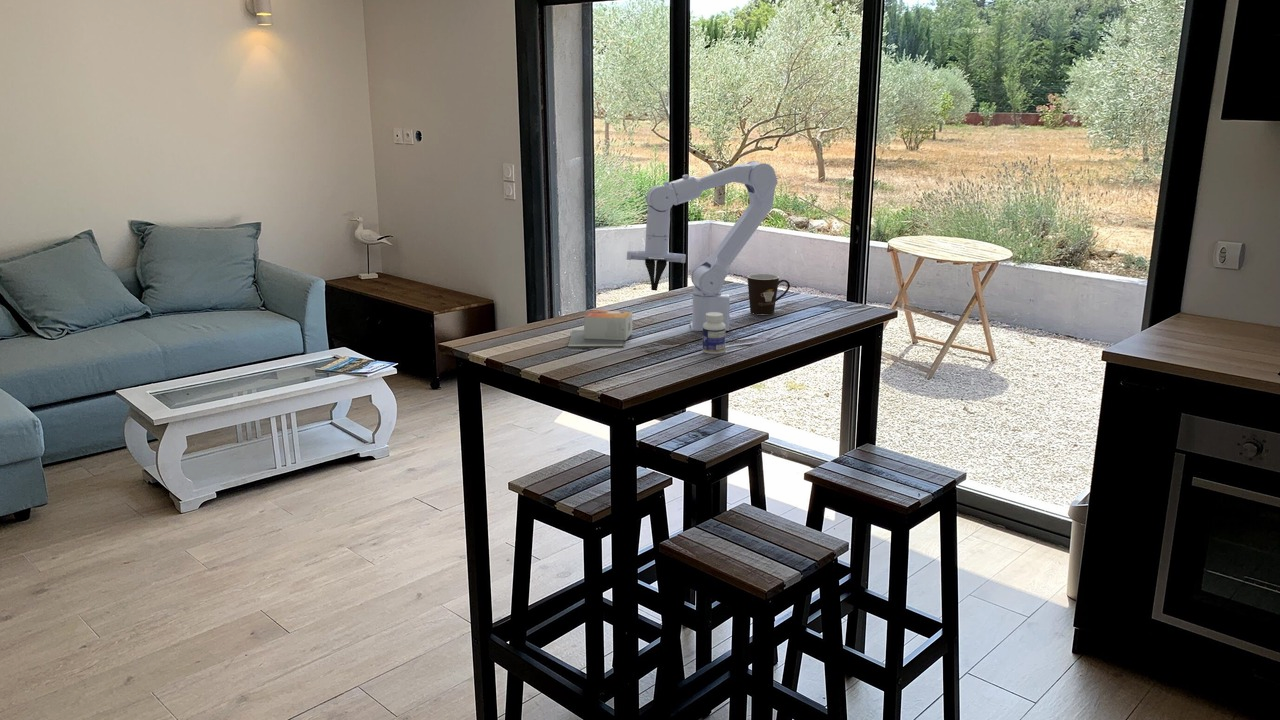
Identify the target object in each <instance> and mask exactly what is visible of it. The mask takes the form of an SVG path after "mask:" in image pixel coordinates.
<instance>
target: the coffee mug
mask: <svg viewBox="0 0 1280 720" xmlns="http://www.w3.org/2000/svg"><path fill="white" fill-rule="evenodd" d="M746 279H747V289H748V300H749V311H750V312H751V313H754V314H772V313H774V314H775V309H776V302H778V301H779V300H781V298H783V297H784V296H785V295H786V294H787V293H788V292H789V290H790V287H791V286H790V282H789V280H786V279H780V276H779V275H776V274H770V273H752V274H748V275H747V276H746ZM783 282H785V284H786V285H787V287H786V289H785V291H784V292H782V294H780V295H779V296H778V297H777V295H778V288H779V285H780V284H781V283H783ZM751 313H750V314H751ZM754 314H753V315H754ZM772 315H773V314H772Z"/></svg>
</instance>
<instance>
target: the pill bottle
mask: <svg viewBox="0 0 1280 720" xmlns="http://www.w3.org/2000/svg"><path fill="white" fill-rule="evenodd" d="M706 321H707V322H706V323H704V324H703V331H702V352H704V353H705V354H709V355H717V354H719V355H720V354H723V353H725V351H726V331H725V330H726V326H725V324H724V323H723V322H722V321H723V314H722V313H718V312H710V313H706Z"/></svg>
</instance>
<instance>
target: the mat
mask: <svg viewBox="0 0 1280 720" xmlns="http://www.w3.org/2000/svg"><path fill="white" fill-rule="evenodd" d="M624 341H625V340H601V339H585V338H584V329H572V331H571V335H570V338H569V342H568V345H567V348H568V349H570V348H572V349H576V348H577V349H579V348H580V349H581V348H582V349H583V348H586V349H587V348H592V349H593V348H595V349H597V348H599V349H600V348H611V349H612V348H624V344H625V343H624Z"/></svg>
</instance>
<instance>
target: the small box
mask: <svg viewBox="0 0 1280 720" xmlns="http://www.w3.org/2000/svg"><path fill="white" fill-rule="evenodd" d="M583 325H584V326H583V330H584V338H585V339H601V340H624V341H627V340H628V338H629V337H630V336H631V335H632V333H633V312H632V311H619V310H598V309H597V310H596V309H595V310H593V309H592V310H590V311H589V312H588V313H587V314H586V315H584V316H583Z"/></svg>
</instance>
